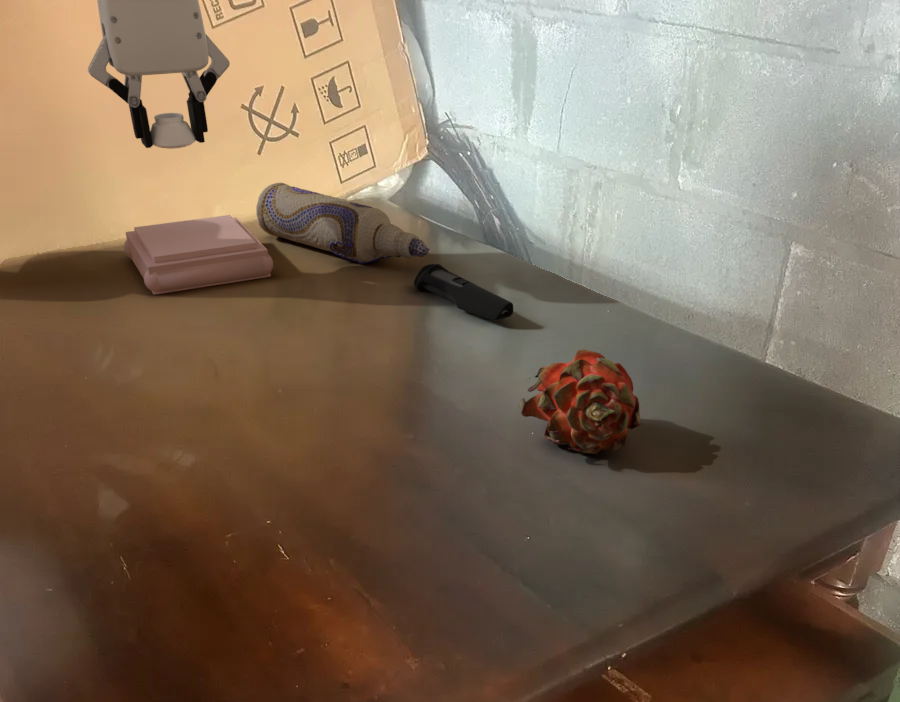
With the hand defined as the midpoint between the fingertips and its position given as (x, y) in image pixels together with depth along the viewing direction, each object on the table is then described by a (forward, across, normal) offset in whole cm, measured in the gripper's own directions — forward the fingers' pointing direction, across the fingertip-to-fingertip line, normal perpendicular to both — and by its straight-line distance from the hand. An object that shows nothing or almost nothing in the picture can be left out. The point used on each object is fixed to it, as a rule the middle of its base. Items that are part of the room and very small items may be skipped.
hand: (172, 140), depth 102 cm
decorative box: (+15, -1, -2) cm, 15 cm away
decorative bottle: (+15, -18, +1) cm, 23 cm away
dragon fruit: (+15, -20, +55) cm, 61 cm away
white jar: (+1, 0, 0) cm, 1 cm away
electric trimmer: (+15, -25, +23) cm, 37 cm away
